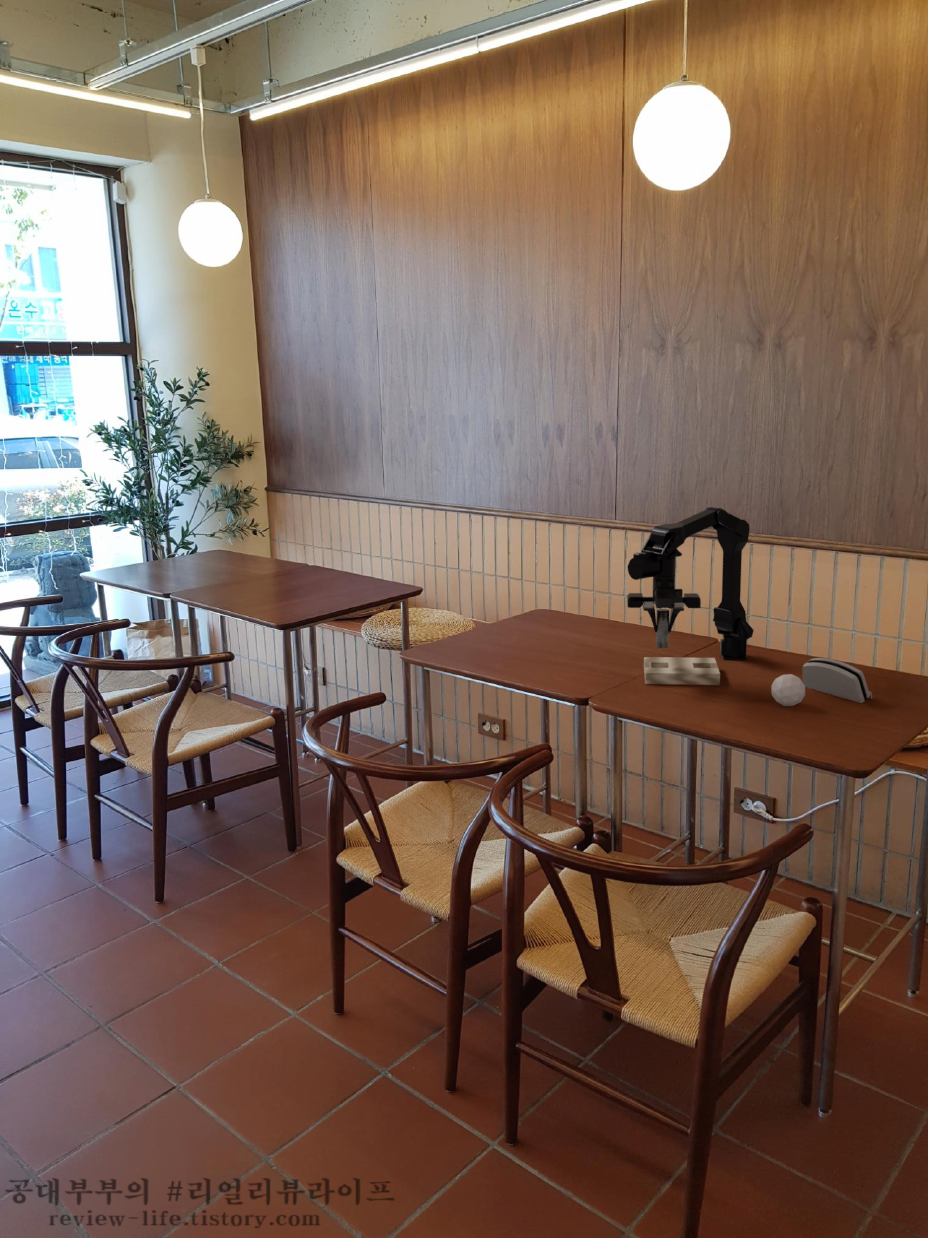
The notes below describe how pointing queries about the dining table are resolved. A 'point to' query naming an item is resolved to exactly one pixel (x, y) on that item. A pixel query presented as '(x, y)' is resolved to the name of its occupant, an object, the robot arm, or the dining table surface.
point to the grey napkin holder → (835, 679)
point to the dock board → (681, 671)
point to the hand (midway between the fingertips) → (662, 632)
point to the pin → (662, 628)
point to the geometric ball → (788, 690)
